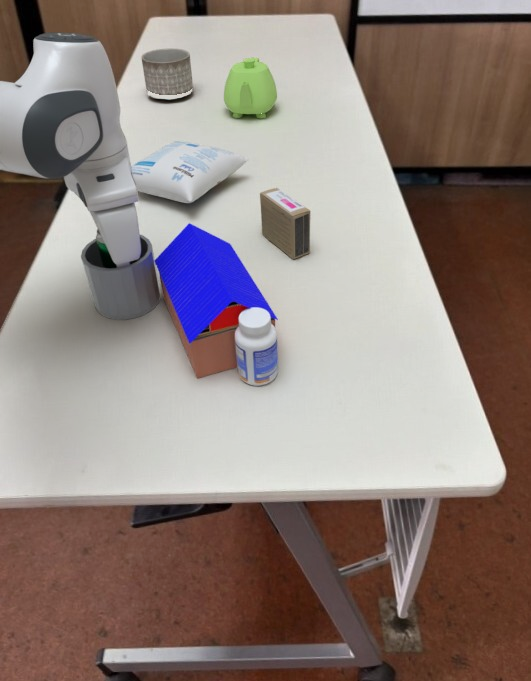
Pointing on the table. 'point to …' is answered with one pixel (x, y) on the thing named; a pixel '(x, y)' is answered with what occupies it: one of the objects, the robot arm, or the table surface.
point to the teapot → (250, 89)
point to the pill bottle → (256, 347)
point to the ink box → (285, 222)
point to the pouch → (184, 170)
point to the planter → (167, 71)
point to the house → (207, 297)
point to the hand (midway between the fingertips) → (117, 256)
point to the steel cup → (122, 283)
